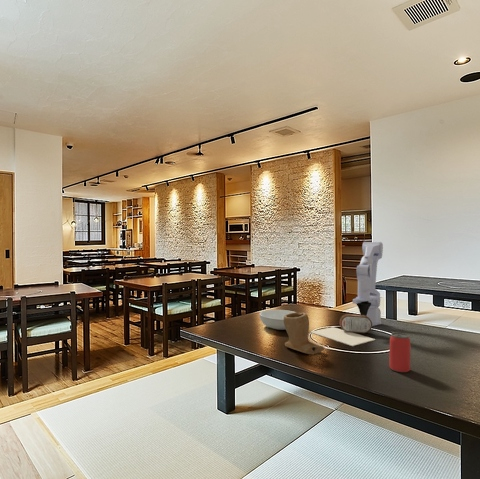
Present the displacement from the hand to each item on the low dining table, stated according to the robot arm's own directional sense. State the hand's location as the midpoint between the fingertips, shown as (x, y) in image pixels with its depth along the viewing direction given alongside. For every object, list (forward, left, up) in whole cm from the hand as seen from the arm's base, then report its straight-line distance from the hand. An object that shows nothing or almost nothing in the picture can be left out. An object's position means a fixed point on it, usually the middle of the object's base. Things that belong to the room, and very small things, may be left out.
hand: (363, 317), depth 166 cm
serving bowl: (+30, -27, -7) cm, 41 cm away
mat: (+16, 0, -7) cm, 17 cm away
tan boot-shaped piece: (+46, +4, -7) cm, 47 cm away
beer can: (+31, +37, -7) cm, 49 cm away
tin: (+6, 0, -7) cm, 9 cm away
